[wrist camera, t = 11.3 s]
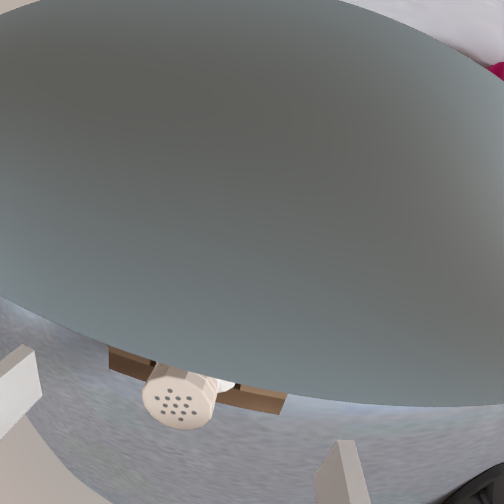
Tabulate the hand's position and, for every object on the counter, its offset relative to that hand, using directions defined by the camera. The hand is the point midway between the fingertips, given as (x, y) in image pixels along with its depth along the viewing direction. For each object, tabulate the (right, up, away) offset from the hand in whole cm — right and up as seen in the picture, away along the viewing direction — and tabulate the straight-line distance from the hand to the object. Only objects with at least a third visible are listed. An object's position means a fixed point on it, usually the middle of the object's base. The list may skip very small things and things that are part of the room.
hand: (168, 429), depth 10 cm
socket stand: (+1, +6, +10) cm, 11 cm away
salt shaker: (+1, +3, +11) cm, 11 cm away
